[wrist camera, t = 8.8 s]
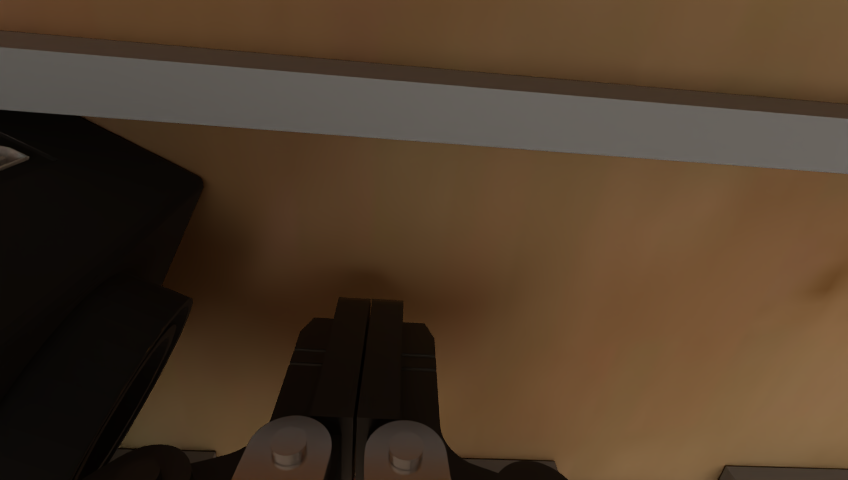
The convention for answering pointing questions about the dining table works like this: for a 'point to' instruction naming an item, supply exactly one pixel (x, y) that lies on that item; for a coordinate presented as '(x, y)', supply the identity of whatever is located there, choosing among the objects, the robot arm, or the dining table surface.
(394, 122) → the channel
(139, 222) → the digital camera
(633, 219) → the dining table surface
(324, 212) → the dining table surface
